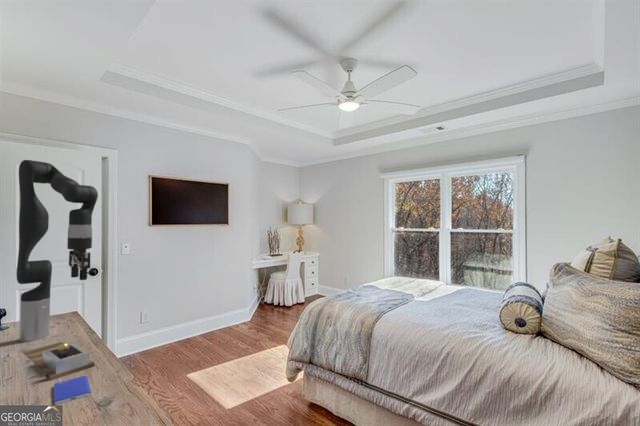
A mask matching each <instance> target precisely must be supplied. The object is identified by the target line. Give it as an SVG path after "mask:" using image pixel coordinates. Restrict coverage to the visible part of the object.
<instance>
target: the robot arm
mask: <svg viewBox="0 0 640 426" xmlns="http://www.w3.org/2000/svg"><path fill="white" fill-rule="evenodd" d="M18 182H19V183H18V185H19V199H20V200H19V201H20V202H19V217H18V218H19V219H18V243H19V244H18V255H17V265H16V281H17V283H18V284H20V285H26V284H27V285H28V284H37V283H39V285H37V286H36V287H33V288H32V289H29V290H26V291H24V292H23V293H21V295H20V310H19V311H20V315H19V342H22V343H24V342H25V343H27V342H34V341H40V340H43V339H45V338H48V337H49V336H50V315H51V314H50V313H51V309H50V308H51V283H52V275H53V274H52V273H53V272H52V271H53V264H52V262H51V261H50V260H48V259H42V260H41V259H40V260H29V258H30V256H31V253H32V252H33V250H34V249H35V247H36V246H37V244H38V243H39V242H40V241H41V240H42V238H43V237H44V236H45V235H46V234H47V232H48V231H49V220H50V219H49V218H50V216H49V212H48V210H47V209H46V207H45V205H44V204H43V203H42V202H41V201H40V199H39V198H38V196H37V194H36V191H35V185H34V184H42V185H43V184H44V185H45V184H48V185H50V187H51V188H52V189H53V191H55V192H56V193H58V194H60V195H61V196H62V198H63V199H64V200H65V202H69V203H73V204H82V205H81V207H80V208H76V209H71V210H69V213H68V229H67V244H66V245H67V249H68V250H69V252H68V253H69V254H68V266H69V267H70V277H71V278H78V279H79V280H80V281H86V280H87V279H88V270H89V269H91V252H87V250H88V249H89V250H90V249H91V248H92V246H93V228H92V224H93V223H92V221H93V219H92V218H93V217H92V216H93V213H94V209H95V205H96V203H97V201H98V198H99V194H98V190H97V189H96V188H95V187H94V186H92V185H85V184H84V185H83V184H79V182H78V181H77V180H74V179H72V178H70V177H69V176H66V175H64V174H63V173H62V172H61V171H60V170H59V169H57V167H55V166H54V165H53V164H51V163H49V162H45V161H37V160H29V159H25V160H21V162H20V164H19V167H18Z"/></svg>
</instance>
